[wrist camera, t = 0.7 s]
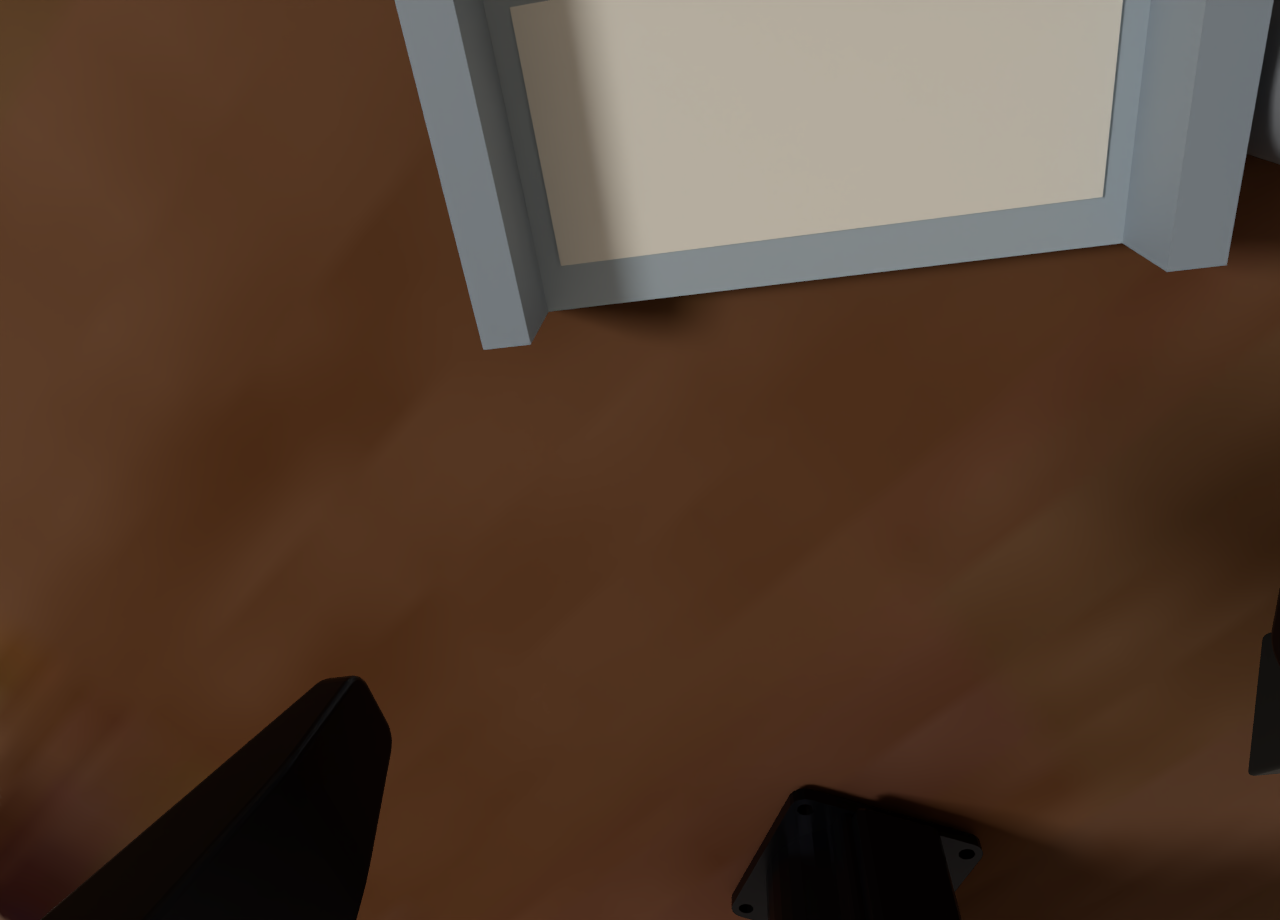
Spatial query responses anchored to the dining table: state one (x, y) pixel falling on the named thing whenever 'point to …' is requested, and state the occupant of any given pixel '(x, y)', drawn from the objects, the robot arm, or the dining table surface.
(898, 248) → the bay
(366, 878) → the robot arm
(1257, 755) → the black chunky block
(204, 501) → the dining table surface
